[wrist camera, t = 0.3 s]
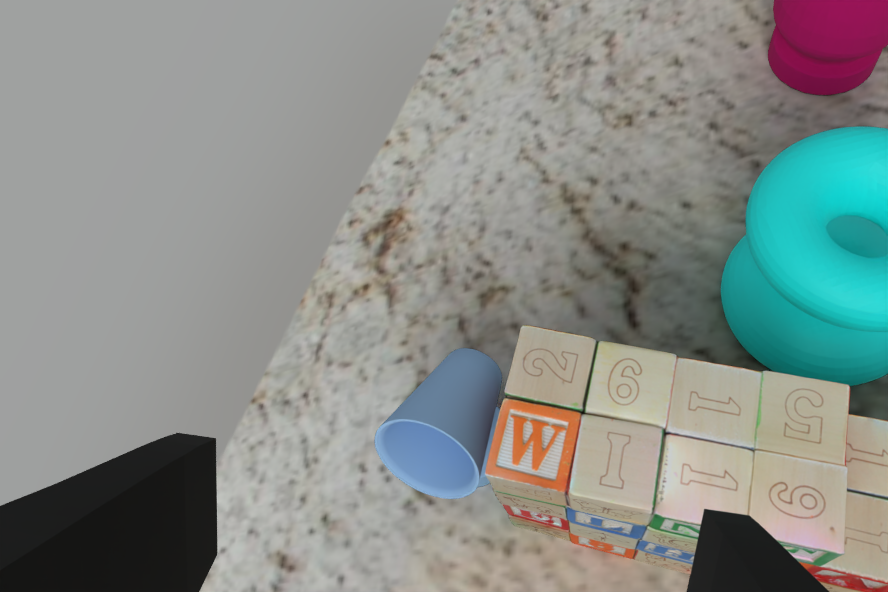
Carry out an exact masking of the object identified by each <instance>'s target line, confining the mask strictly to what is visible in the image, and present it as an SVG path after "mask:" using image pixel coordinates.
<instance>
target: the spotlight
mask: <svg viewBox="0 0 888 592" xmlns="http://www.w3.org/2000/svg"><path fill="white" fill-rule="evenodd" d="M501 383H502V374H501V371H500V369H499V367H498V365H497V364H496V363H495V362H494V361H493V360H492V359H491V358H490V357H489V356H487V355H486V354H484V353H482V352H480V351H477V350H474V349H469V348H461V349H457V350H454V351H453V352H451V353H450V354H449V355H448V356H447V357H446V358H445V359H444V360H443V362H442V363H441V364H440V365H439V366H438V367H437V368H436V369H435V370H434V371H433V372H432V373H431V374H430V375H429V376H428V377H427V378H426V379H425V380H424V381H423V382H422V383H421V384H420V386H419V387H418V388H417V389H416V390H415V391H414V392H413V393H412V394H411V395H410V396H409V397H408V398H407V399H406V400H405V401H404V402H403V403H402V404H401V405H400V406H399V407H398V408H397V410H396V411H395V412H394V413H393V414H392V415H391V416H390V417H389V418H388V419H387V420H386V421H385V422H384V423H383V424H382V425H381V426H380V427H379V429H378V430H377V432H376V434H375V447H376V450H377V453H378V455H379V457H380V459H381V460H382V462H383V463H384V464H385V466H386V467H387V468H388V469H389V470H390V471H391V472H392V473H393V474H394V475H395V476H396V477H397V478H399V479H400V480H401V481H403V482H404V483H406V484H407V485H409V486H410V487H412V488H414V489H416V490H418V491H420V492H423V493H425V494H428V495H431V496H435V497H439V498H446V499H457V498H462V497H466V496H468V495H470V494H471V493H473V492H474V491H475V490H476V488H477V487H481V486H484V485H487V484H489V483H490V482H489V480H488V478H487V477H486V475H485V470H486V464H487V460H488V456H489V452H490V448H491V444H492V440H493V436H494V432H495V428H496V424H497V420H498V416H499V412H500V409H499V408H498V407H497V406H496V405H497V401H498V396H499V392H500V387H501Z"/></svg>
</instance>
